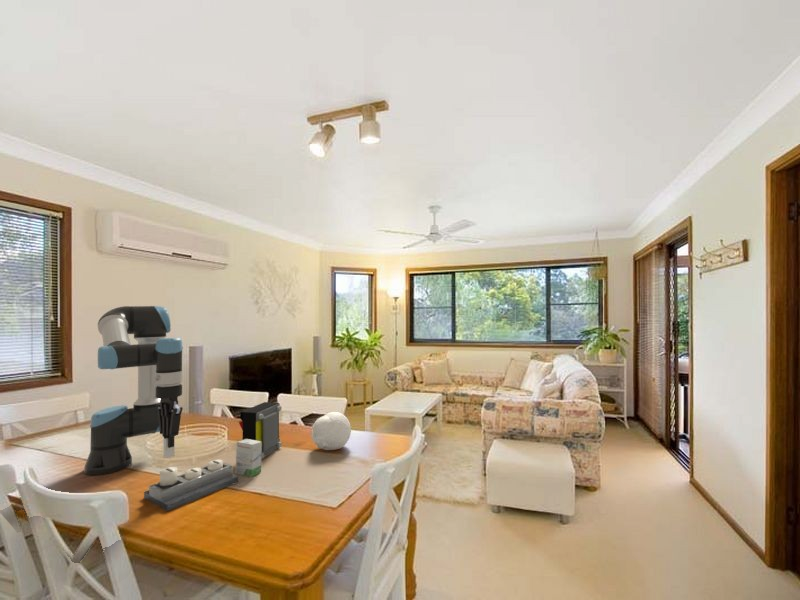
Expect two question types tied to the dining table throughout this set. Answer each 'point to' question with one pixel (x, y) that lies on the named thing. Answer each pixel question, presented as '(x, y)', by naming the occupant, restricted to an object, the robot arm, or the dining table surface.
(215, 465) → the knob far
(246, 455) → the ink box
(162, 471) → the knob near
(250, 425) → the electrical component
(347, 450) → the dining table surface
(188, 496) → the mount
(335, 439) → the decorative orb
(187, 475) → the knob mid
